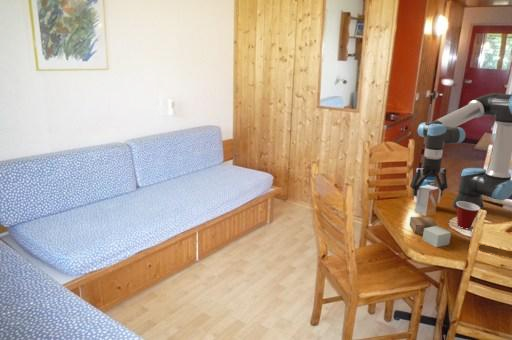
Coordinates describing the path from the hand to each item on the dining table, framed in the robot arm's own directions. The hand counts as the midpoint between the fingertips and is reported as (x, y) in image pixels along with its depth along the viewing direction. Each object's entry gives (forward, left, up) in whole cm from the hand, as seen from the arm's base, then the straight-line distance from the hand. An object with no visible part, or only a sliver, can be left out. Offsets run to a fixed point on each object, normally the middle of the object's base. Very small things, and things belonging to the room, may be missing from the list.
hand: (426, 202), depth 186 cm
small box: (0, 0, -6) cm, 6 cm away
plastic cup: (-23, -3, -15) cm, 28 cm away
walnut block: (0, 0, -15) cm, 15 cm away
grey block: (0, +13, -15) cm, 20 cm away
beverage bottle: (-16, -31, -15) cm, 38 cm away
